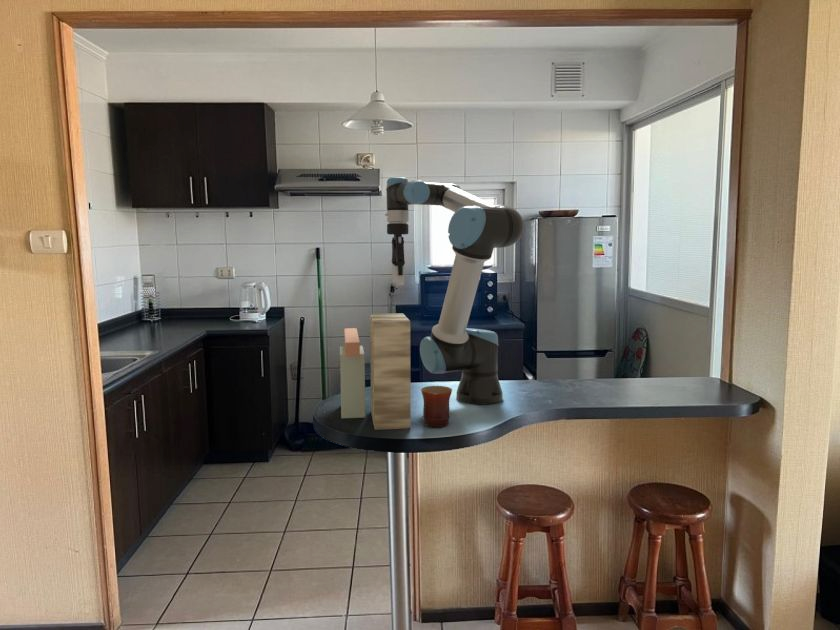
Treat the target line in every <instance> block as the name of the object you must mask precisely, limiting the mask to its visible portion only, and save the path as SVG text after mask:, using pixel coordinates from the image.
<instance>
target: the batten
mask: <svg viewBox="0 0 840 630" xmlns="http://www.w3.org/2000/svg"><path fill="white" fill-rule="evenodd" d="M343 330H344V346H345V353H346V356H360V346H361V345H360V344H361V343H360V338H359V333H358V329H357V327H353V328H352V327H351V328H350V327H349V328H347V327H346V328H344V329H343Z"/></svg>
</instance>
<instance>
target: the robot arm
mask: <svg viewBox="0 0 840 630" xmlns="http://www.w3.org/2000/svg"><path fill="white" fill-rule="evenodd" d="M385 191H386V213H385V214H384V216H385V217H386V222H387V224H386V234H387V235H393V237H392V240H391V250H392V252H391V264H392V265H391V267H392V269H391V271H392V272H391V273H392V276H391V278H392V280H391V281H392V283H393V284H394V283H395V286H405V264H406V262H405V246H404V245H405V238H404V236H402V235H409V224H408V223H409V220H410V217H409V205H411V206H412V205H418V206H419V205H420V206H421V205H422V206H426V205H427V206H441V207H444V208H445V209H448V210H450V211H452V212H454V213H453V214H452V216H451V218H450V220H449V223H448V228H447V233H448V236H447V237H448V240H449V242H450V244H451V245H452V247H451V248H452V249H451V250H452V251H453V252H454V254H455V257H454V261H453V265H452V268H451V272H450V276H449V280H448V285H447V289H446V293H445V296H444V301H443V304H442V309H441V313H440V317H439V320H438V323H437V324H435V325H433V326H432V328H431V333H430V336H425V337H424V338H422V339H421V341H420V343H419V345H420V346H419V354H420V358H421V361H422V364H423V366H424V368H425V369H426V370H427V371H428V372H430V373H431V374H445V373H453V372H459V371H461V377H460V381H459V383H458V386H457V389H456V396H455V397H456V399H457V401H459V402H461V403H465V404H469V405H493V404H497V403H500V402H502V401H503V390H502V387H501V383H500V380H499V377H498V367H499V366H498V365H499V363H498V359H499V346H500V345H499V336H498V334H497V332H495V331H492V330H489V329H482V328H470V327H469V328H468V323H469V320H470V316H471V312H472V308H473V304H474V301H475V297H476V293H477V290H478V286H479V284H480V279H481V275H482V272H483V269H484V265H485V262H487V261H488V260H491V258H492V256H493V254H494V253H493V251H494V249H495V248H496V249H498V248H508V247H511V246H513V245H515V244H516V243H517V242H518V241H519V240H520V239H521V238H522V235H523V232H524V229H525V228H524V227H525V226H524V225H525V224H524V219H523V217H522V215H521V213H519V212H518V211H517V210H516V209H514V208H511V207H510V206H507V205H504V204H497V205H496V204H494V203H492V202H489V201H487V200H485V199H483V198H481V197H478V196H476V195H473V194H472V193H469V192H467V191H464V190H463V189H462V188H461V186H460V185H459V184H457V183H456V184H455V183H451V182H448V183H446V182H443V183H442V182H428V181H427V182H426V181H424V180H417V179H416V180H411V181H409V180H408V178H407V177H401V176H399V177H397V176H396V177H389V178H387V181H386V188H385Z"/></svg>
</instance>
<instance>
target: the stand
mask: <svg viewBox="0 0 840 630" xmlns="http://www.w3.org/2000/svg"><path fill="white" fill-rule="evenodd" d="M369 329H370V331H369V335H370V336H369V340H370V341H369V344H370V345H369V346H370V348H369V349H370V351H369V353H370V357H369V358H370V362H369V363H370V364H369V365H370V413H371V414H370V415H371V418H372V424H373V428H374V429H373V430H374V431H375V430H378V431H379V430H397V429H398V430H399V429H400V430H401V429H403V430H404V429H411V414H412V413H411V412H412V411H411V320H410V319H409V318H408V317H407V316H406V315H405V314H404V313H370V314H369Z"/></svg>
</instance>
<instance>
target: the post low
mask: <svg viewBox="0 0 840 630" xmlns="http://www.w3.org/2000/svg"><path fill="white" fill-rule="evenodd" d="M339 359H340V360H339V361H340V362H339V364H340V368H339V369H340V371H339V372H340V409H341V410H340V418H341V419H359V418H360V419H361V418H366V382H365V381H366V379H365V377H366V375H365V373H366V372H365V369H366V368H365V367H366V366H365V365H366V364H365V361H366V360H365V351H364V346H363V345H360V356H346V353H345V345H340V346H339Z"/></svg>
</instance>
